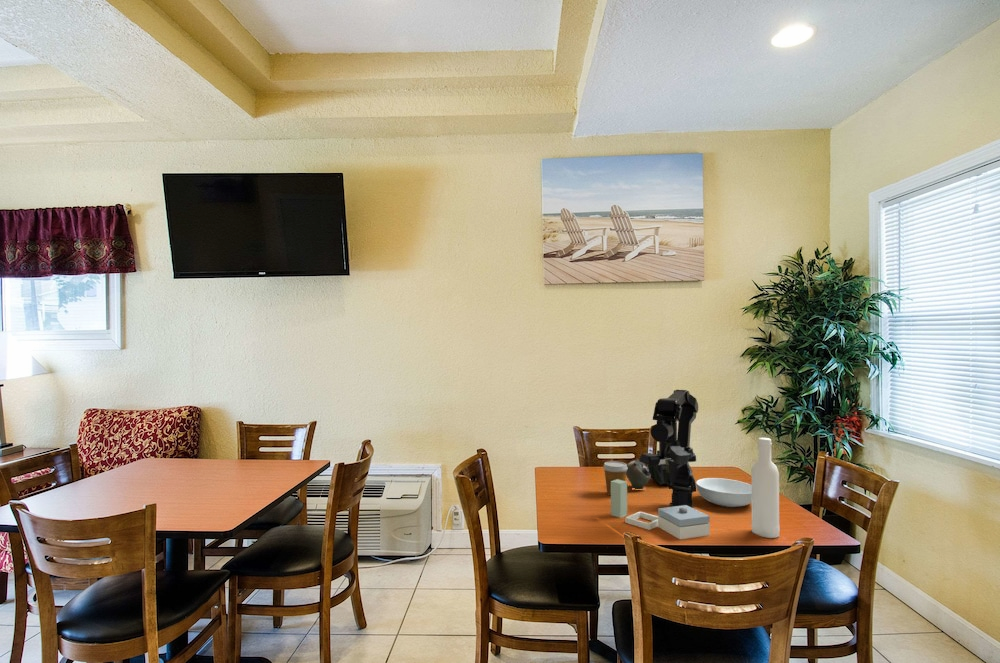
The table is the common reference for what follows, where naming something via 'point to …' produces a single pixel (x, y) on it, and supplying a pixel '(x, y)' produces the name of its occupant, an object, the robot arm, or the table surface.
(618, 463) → the disposable coffee cup
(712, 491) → the serving bowl
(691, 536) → the lidded well
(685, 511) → the lid
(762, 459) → the bottle
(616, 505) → the sage post
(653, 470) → the squash
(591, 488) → the table surface
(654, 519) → the post well
